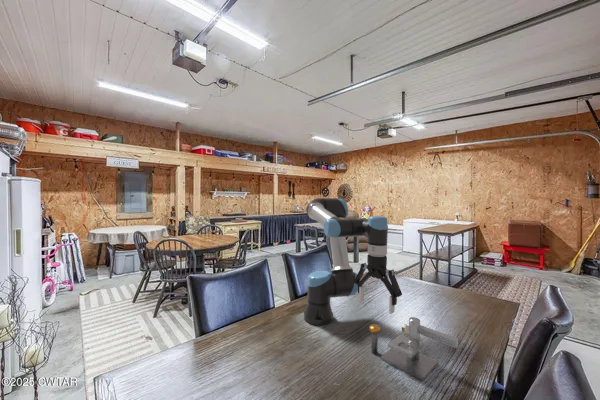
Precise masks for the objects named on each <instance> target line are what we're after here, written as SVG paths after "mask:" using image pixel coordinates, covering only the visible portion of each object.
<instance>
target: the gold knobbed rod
mask: <svg viewBox="0 0 600 400" xmlns="http://www.w3.org/2000/svg"><path fill="white" fill-rule="evenodd" d="M368 330H369V331H370V332H371V346H370V348H371V349H370V351H371V354H373V355H378V349H379V348H378V347H379V346H378V344H379V343H378V341H379V340H378V339H379V334H380V333H381V326H380V325H378V324H375V323H374V324H369V329H368Z"/></svg>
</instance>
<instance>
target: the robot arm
mask: <svg viewBox="0 0 600 400" xmlns="http://www.w3.org/2000/svg"><path fill="white" fill-rule="evenodd" d="M348 206H349V205H348V203H347V202H346V201H345V200H344V198H339V197H338V198H336V197H335V198H329V197H328V198H322V197H321V198H320V197H318V198H315V199H313V200H311V201H310V202H308V204H307V206H306V209H305V211H306V214H307V216H308V217H309V218H310V220H314V221H316V222H317V223H319V224H320V225H321V226H322V227H323V232H324V235H325V236H326V237H328V238H329V240H330V241H329V242H330V250H331V258H332V269H331V270H330V271H327V270H317V271H313V272H311V273H310V274H308V276H307V303H306V306H305V308H304V309H305V310H304V313H303V320H304V321H306V323H308V324H311V325H315V326H326V325H329V324H330V323H332V322H333V321H334V312H333V311H332V310H333V309H332V306H331V299H332V298H340V297H350V296H351V297H352V296H355V295H356V294H358V295H359V296H358V303H363V302H364V301H365V285H364V284H365V283H366V282H367V281H368V280H369V279H370V278H371V277H372V278H375V279H377V280H380V281H381V282H382V284H384V286H385V288H386V289H387V291H388V292H389V294H390V295H389V298H388V299H389V302H388V303H389V305H388V306H389V307H388V311H389V312H388V313H389V314H390V315H392V314H393V313H395V306H396V305H397V303H398V298H399V297H402V295H403V293H402V291H401V287H400V285H399V283H398V280H397V277H396V275H395V270H394V269H387V265H388V257H387V254H388V232H389V229H388V228H389V226H388V225H389V224H388V218H387V217H386V216H381V215H380V216H378V215H370V216H368V218H364V217H358V218H347V217H348V216H349V207H348ZM346 218H347V219H346ZM348 237H365V238H367V261H366V262H367V263H366V262H364V263H361V264H360V267H359V268H360V269H359V271H358V272H355V271H354V269H353V267H351V265H350V260H349V254H348V248H347V241H346V240H347V239H346V238H348ZM366 270H367V272H366ZM365 272H366V274H365V276H363V275H364V273H365Z"/></svg>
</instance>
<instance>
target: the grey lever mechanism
mask: <svg viewBox="0 0 600 400" xmlns="http://www.w3.org/2000/svg"><path fill="white" fill-rule="evenodd" d="M408 326H409V338H408V337H406V336H403V334H399V335H398V336H396V337H395V338H394V339H393V340H391V341H389V342H388V343H387V347H388V348H389V349H388V350H387V351H386V352H384V353H383V354H382V355H381V356H380V360H382V361H383V362H385V363H387V364H389V365H391V366H393V367H395V368H396V369H399V370H400V371H402V372H404V373H406V374H408V375H409V376H412V377H414V378H415V379H418V380H419V381H420V382H424V381H425V380H426V379H427V377H429V375H430V374H431V373H432V372H433V371H434V369H436V367H437V366H438V365H439V360H437V359H435V358H432V357H430V356H427V355H425V354H423V353H422V352H420V351H422V350H423V349H424V348H425V347H424V346H425V344H424V343H422V342H421V340H420V339H421V336H424V337H426V338H429V339H430V340H434V341H437V342H439V343H441V344H444V345H447V346H449V347H452V348H454V349H457V348H458V347H459V338H457V337H454V336H452V335H449V334H446V333H443V332H440V331H438V330H436V329H433V328H430V327H427V326H425V325H422V324H421V319H419V318H418V317H414V316H412V317H409V318H408Z"/></svg>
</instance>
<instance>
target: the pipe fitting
mask: <svg viewBox="0 0 600 400" xmlns="http://www.w3.org/2000/svg"><path fill="white" fill-rule="evenodd" d="M401 331H402V333H403V334H402V335H403V336H406V337H408V338H409V324H405V323H404V324H402V326H401Z"/></svg>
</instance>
